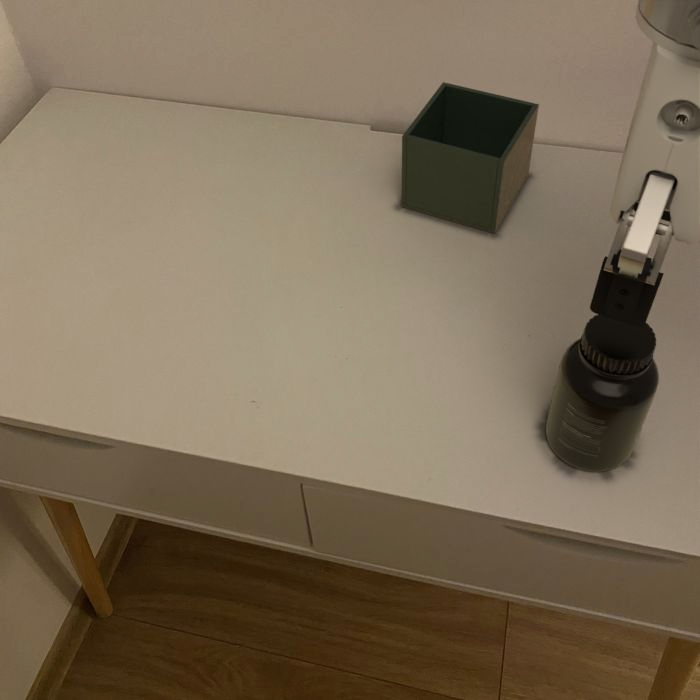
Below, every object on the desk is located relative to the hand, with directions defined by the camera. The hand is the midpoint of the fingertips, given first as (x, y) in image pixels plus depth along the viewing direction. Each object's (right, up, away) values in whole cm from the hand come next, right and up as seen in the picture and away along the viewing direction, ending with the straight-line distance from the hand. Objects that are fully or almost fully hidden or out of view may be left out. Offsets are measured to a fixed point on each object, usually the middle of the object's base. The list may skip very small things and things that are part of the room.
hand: (638, 263), depth 51 cm
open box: (-6, +11, +34) cm, 36 cm away
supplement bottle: (+1, -12, +14) cm, 19 cm away
